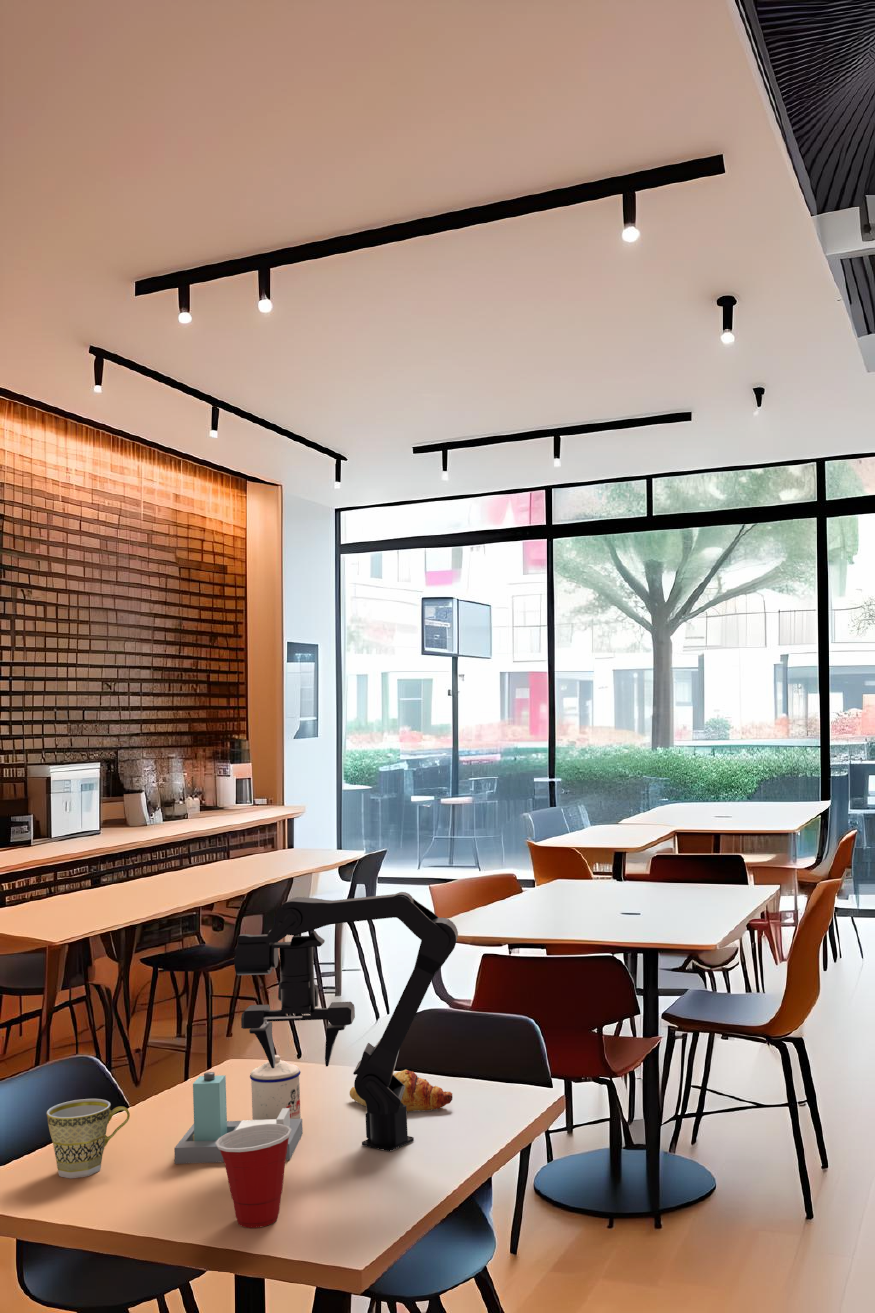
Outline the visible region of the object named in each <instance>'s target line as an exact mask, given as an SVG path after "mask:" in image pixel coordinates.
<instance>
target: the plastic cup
mask: <svg viewBox="0 0 875 1313" xmlns="http://www.w3.org/2000/svg"><path fill="white" fill-rule="evenodd" d="M291 1130H292V1129H291V1128H290V1127H289V1126H286V1125H282V1124H262V1125H254V1126H249V1127H245V1128H241V1129H237V1130H235V1131H232V1132H229V1133H227V1134H225V1135H223V1136H221V1137H220V1138H218V1140H217V1141H216V1146H217V1147H218V1149H219V1150H220V1151H221V1155H222V1157H223V1161H224V1162H223V1163H224V1167H225V1171H226V1176H227V1182H228V1186H229V1191H230V1192H229V1193H230V1196H231V1200H232V1202H233V1209H234V1214H235V1218H236V1220H237V1223H238V1225H239V1226H240V1227H243V1228H249V1229H254V1228H255V1229H257V1228H262V1227H267V1226H269V1225H272V1224H273V1223H275V1222H277V1220H278V1218H279V1214H280V1209H281V1208H280V1207H281V1200H282V1198H281V1197H282V1193H283V1188H284V1177H285V1170H286V1161H287V1160H286V1154H287V1146H288V1140H289V1136H290V1134H291Z"/></svg>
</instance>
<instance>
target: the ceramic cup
mask: <svg viewBox="0 0 875 1313" xmlns="http://www.w3.org/2000/svg"><path fill="white" fill-rule="evenodd" d="M111 1105H112V1104H111V1102H110V1101H108V1100H106V1099H101V1098H85V1099H83V1098H82V1099H74V1100H70V1101H66V1102H62V1103H59V1104H55V1105H54V1106H51V1107H50V1108H49V1109H48V1110H47V1111H46V1119H47V1125H48V1130H49V1134H50V1137H51V1141H52V1145H53V1146H52V1147H53V1151H54V1156H55V1161H56V1162H55V1163H56V1168H57V1173H58V1176H59V1177H62V1178H65V1179H77V1178H78V1179H79V1178H85V1177H89V1176H91V1175H94V1174H96V1173H98V1172H100V1171H101V1170H102V1169H101V1168H102V1161H103V1154H104V1151H105V1147H107V1145H108V1142H109V1141H110V1140H111V1139H112V1138H113V1137H114V1136H115V1135H116V1133H117V1132H118V1131H119V1130H121V1129H122V1127H124V1126H125V1125H126V1124H127V1123H128V1122H129V1119H130V1111H129V1109H128V1108H127V1107H125V1106H116V1107H114V1108H113V1109H112V1110H111ZM119 1111H125V1112H126V1114H127V1116H126V1119H125V1120H124V1121H123V1122H122V1123H121V1124H120V1125H118V1127H116V1128H115V1129H114V1131H113V1132H112V1133H111V1134H110V1135H107V1130H108V1125H109V1123H110V1122H111V1120H112V1118H113V1117H114V1115H115V1114H116V1113H118V1112H119Z"/></svg>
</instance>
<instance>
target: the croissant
mask: <svg viewBox="0 0 875 1313" xmlns="http://www.w3.org/2000/svg"><path fill="white" fill-rule="evenodd" d="M393 1075H394V1076H395V1077H396V1078H398V1079H399V1080H400V1081H401V1082H402V1083H403V1084H404V1085H405V1090H404V1093H403V1096H402V1099H401V1102H402V1103H403V1105H406V1109H407V1113H409V1112H419V1111H420V1112H423V1111H424V1112H428V1111H434V1110H439V1109H441V1108H443V1107H445V1106H446V1105H449V1104H451V1103H452V1101H453V1093H452V1092H451V1091H444V1090H443V1088H442V1087H439V1086H438V1085H435V1086H433V1085H432V1084H431V1083H430V1082H429V1081H428V1080H427V1079H425V1078H421V1077H418V1075H417V1073H415V1072H414V1071H413V1070H412V1071H410V1070H408V1069H404V1070H400V1071H397V1072H395V1073H393ZM349 1096H350V1098H351V1099H352V1100H353V1101H354V1102H356V1103H358V1104H359V1105H362V1106H364V1107H367V1105H366V1102H365V1100H363V1099H362V1098H360V1097H359V1095H358V1094H357V1093H356V1090H355V1087H354V1086H352V1087H351V1088H350V1089H349Z"/></svg>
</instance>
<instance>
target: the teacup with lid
mask: <svg viewBox="0 0 875 1313" xmlns="http://www.w3.org/2000/svg"><path fill="white" fill-rule="evenodd" d="M300 1075H301V1070H300V1067H299V1066H298V1065H296V1064H293V1063H288V1062H287V1061H285V1060H282V1059H281V1056H280V1055H278V1054H275V1068H271V1065H270V1063H269V1061H266V1062H264V1063H263V1064H261V1065H260V1066H257V1067H256V1068H253V1069H252V1070H251V1072H250V1075H249V1078H250V1080H251V1083H250V1085H251V1108H252V1109H251V1110H252V1111H251V1112H252V1115H251V1116H252V1120H267V1119H277V1117H278V1116H279V1114H280V1112H281V1110H282V1109H283V1108H290V1119H302V1117H301V1116H302V1115H301V1114H302V1113H301V1091H300V1090H301V1086H300V1084H301V1083H300Z"/></svg>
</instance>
